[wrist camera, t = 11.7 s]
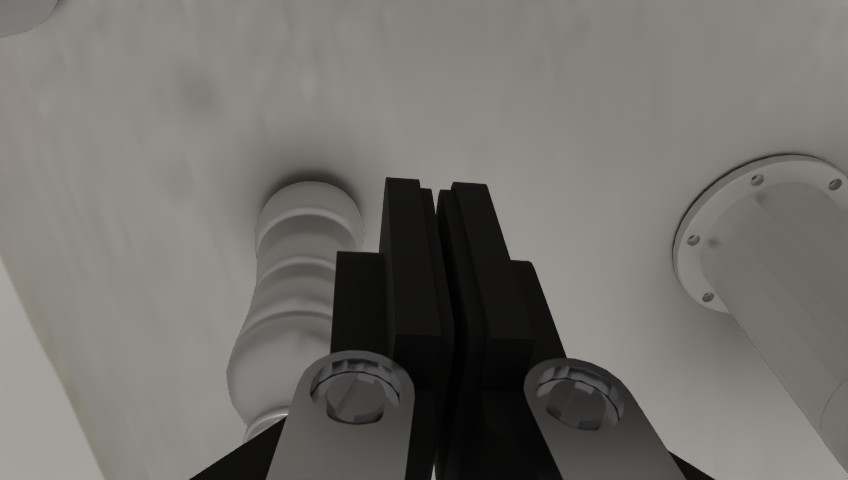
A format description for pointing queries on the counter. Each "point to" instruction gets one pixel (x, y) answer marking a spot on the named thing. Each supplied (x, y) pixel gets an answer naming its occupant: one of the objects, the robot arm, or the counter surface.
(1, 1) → the salt shaker
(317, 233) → the plastic bottle
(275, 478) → the robot arm
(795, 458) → the counter surface
